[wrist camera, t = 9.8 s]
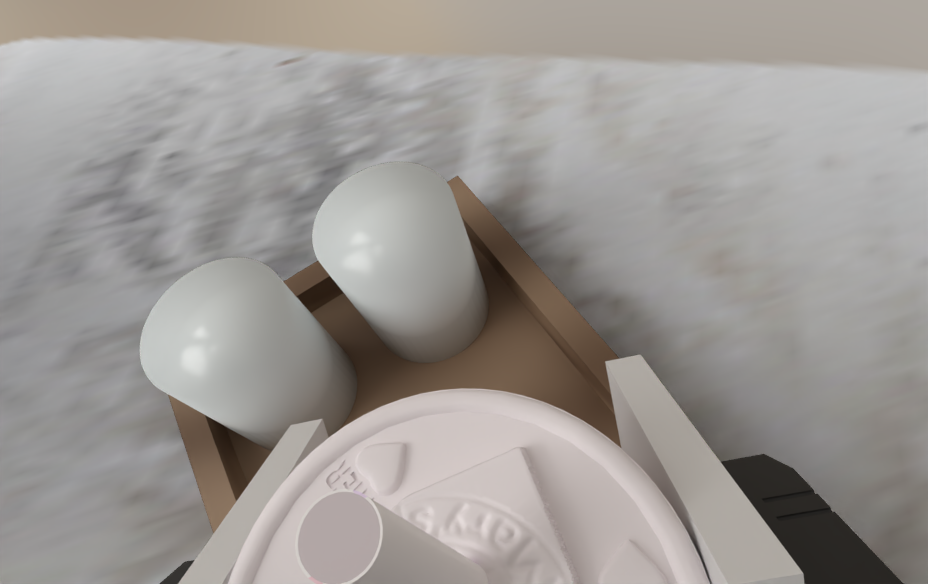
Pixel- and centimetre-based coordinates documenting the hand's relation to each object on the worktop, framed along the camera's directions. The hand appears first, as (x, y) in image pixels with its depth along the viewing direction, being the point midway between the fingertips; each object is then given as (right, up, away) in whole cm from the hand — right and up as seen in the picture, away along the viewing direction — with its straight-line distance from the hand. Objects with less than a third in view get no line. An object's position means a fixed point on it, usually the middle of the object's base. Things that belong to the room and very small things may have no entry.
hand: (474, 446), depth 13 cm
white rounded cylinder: (-6, 0, +9) cm, 11 cm away
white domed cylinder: (-1, +3, +10) cm, 10 cm away
